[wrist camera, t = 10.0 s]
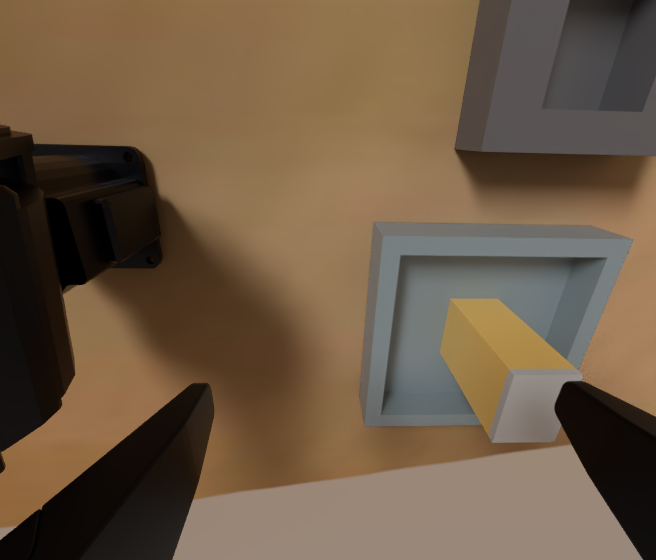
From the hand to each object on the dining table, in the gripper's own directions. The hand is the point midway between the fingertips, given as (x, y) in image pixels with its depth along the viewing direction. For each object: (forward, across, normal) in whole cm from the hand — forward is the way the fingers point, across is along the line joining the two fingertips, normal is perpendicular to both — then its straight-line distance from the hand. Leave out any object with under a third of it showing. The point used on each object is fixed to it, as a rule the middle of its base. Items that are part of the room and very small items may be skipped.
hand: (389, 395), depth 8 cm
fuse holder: (+12, -10, -10) cm, 19 cm away
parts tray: (+12, -8, +5) cm, 15 cm away
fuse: (+11, -8, +5) cm, 15 cm away
